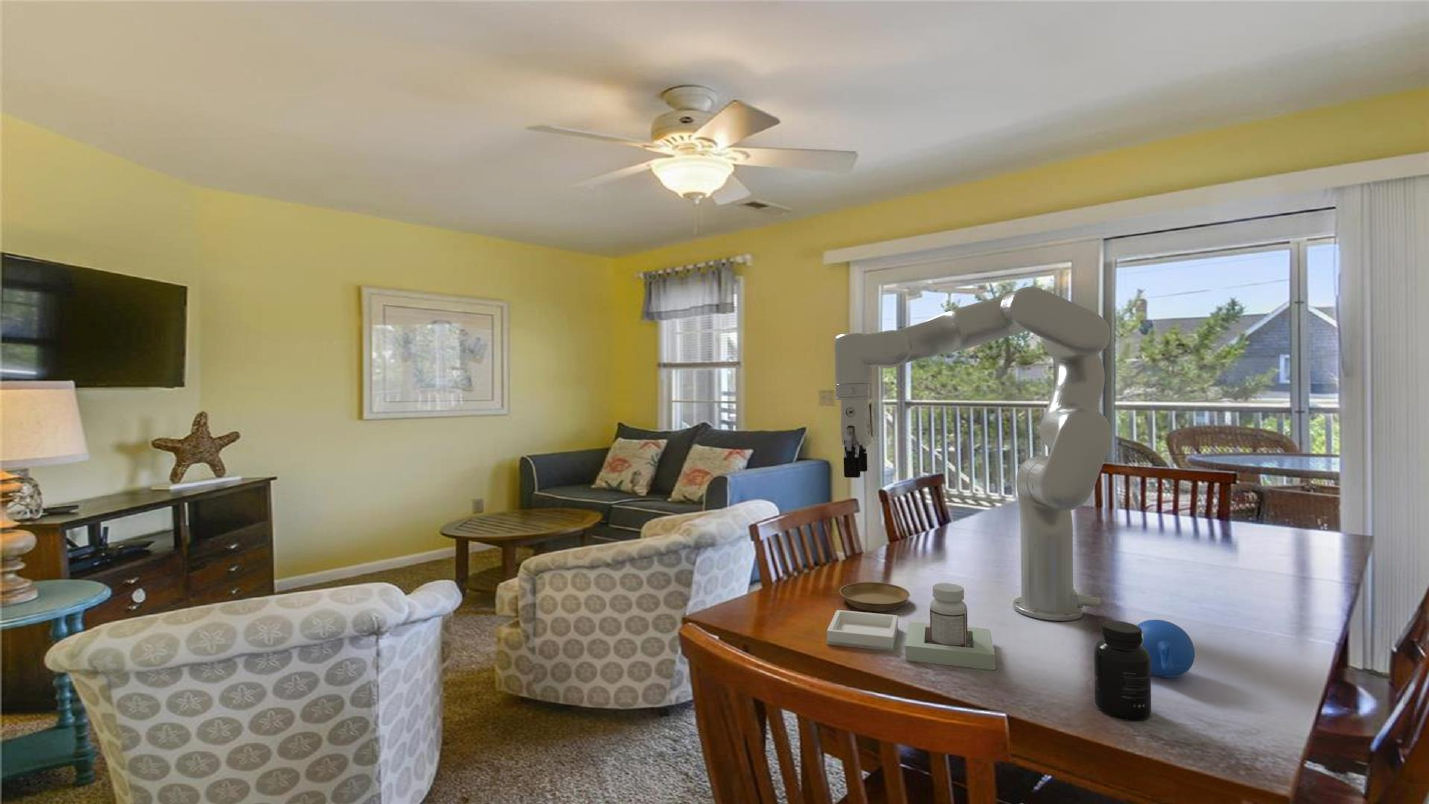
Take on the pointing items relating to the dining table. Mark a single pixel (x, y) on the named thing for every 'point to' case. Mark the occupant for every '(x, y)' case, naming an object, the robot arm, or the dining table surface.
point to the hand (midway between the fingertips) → (856, 474)
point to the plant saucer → (874, 596)
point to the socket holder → (950, 648)
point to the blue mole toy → (1167, 648)
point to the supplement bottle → (1122, 672)
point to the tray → (863, 630)
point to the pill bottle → (948, 616)
